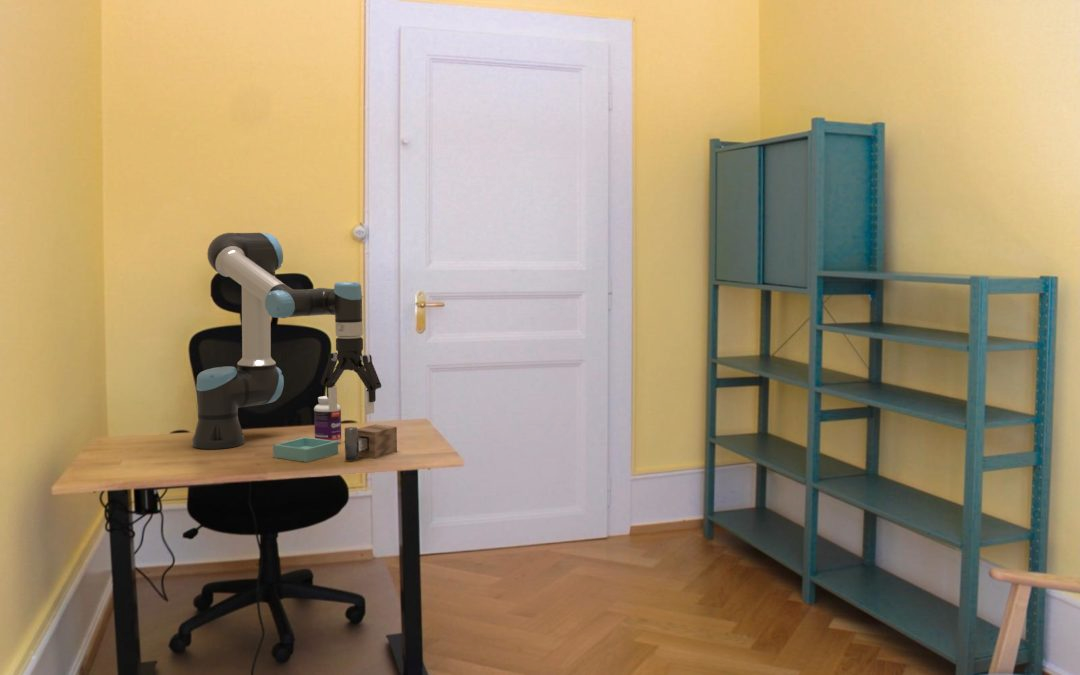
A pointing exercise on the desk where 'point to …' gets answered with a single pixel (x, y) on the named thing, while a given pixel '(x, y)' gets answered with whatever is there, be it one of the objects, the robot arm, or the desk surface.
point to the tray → (305, 449)
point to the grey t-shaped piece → (354, 443)
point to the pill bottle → (327, 421)
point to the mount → (379, 440)
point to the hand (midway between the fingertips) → (351, 411)
